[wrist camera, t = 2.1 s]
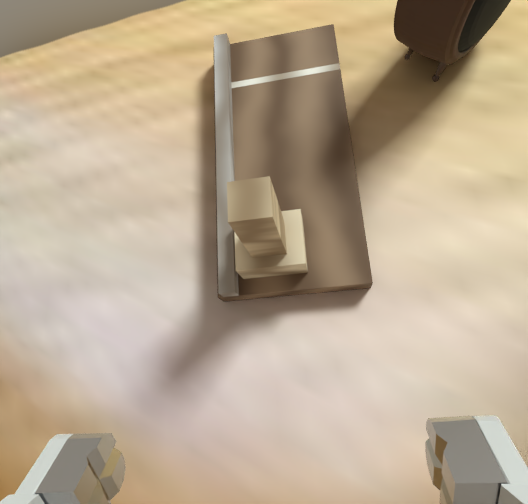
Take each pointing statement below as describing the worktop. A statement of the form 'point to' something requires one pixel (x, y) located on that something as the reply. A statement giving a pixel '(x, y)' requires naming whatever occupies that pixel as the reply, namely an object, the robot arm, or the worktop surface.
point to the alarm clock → (444, 27)
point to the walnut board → (289, 157)
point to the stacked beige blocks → (264, 231)
